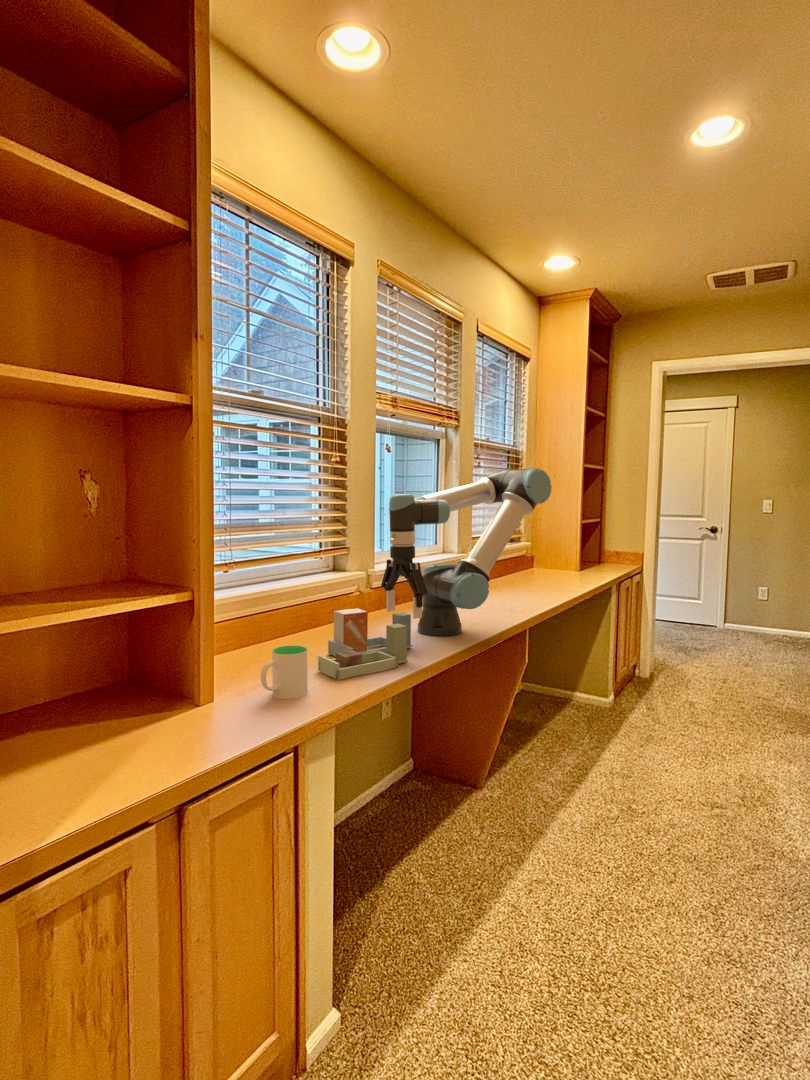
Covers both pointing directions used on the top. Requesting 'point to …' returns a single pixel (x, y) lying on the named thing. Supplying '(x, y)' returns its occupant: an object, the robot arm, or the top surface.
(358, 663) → the walnut block
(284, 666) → the mug
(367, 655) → the tray
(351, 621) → the small box
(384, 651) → the tray
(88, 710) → the top surface
